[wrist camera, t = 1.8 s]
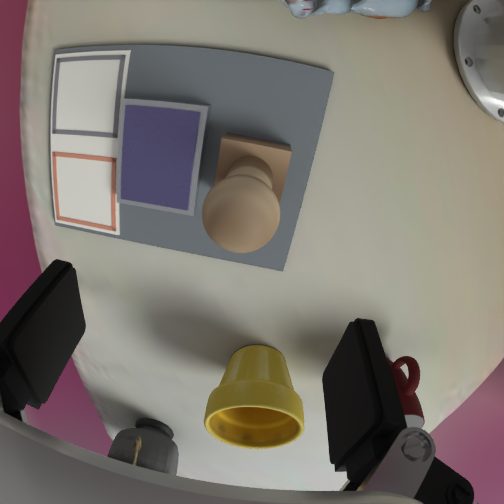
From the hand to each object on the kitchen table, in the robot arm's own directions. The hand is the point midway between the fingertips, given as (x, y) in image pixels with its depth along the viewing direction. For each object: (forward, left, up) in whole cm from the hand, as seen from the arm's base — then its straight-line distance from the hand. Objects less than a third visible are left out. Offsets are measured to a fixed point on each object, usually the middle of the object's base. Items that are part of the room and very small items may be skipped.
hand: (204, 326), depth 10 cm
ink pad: (0, -7, -18) cm, 19 cm away
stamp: (0, 0, -17) cm, 17 cm away
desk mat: (0, -7, -18) cm, 19 cm away
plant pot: (+23, +5, -18) cm, 30 cm away
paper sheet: (0, -15, -18) cm, 23 cm away
